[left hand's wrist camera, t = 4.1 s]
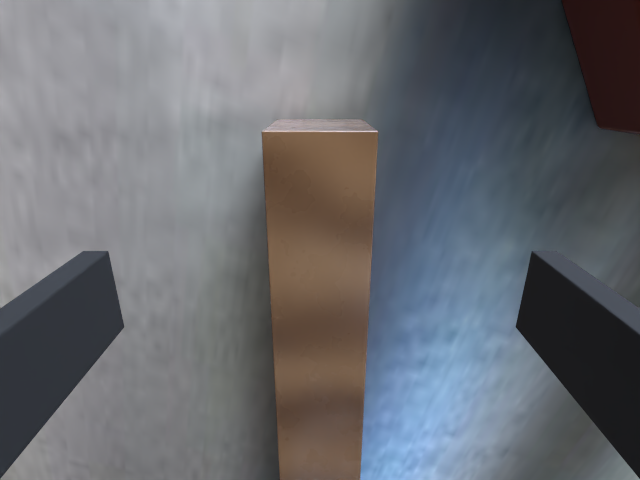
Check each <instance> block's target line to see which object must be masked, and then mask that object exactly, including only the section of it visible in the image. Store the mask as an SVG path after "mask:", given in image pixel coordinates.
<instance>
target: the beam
mask: <svg viewBox="0 0 640 480" xmlns="http://www.w3.org/2000/svg"><path fill="white" fill-rule="evenodd" d="M377 146H378V131H377V130H376V129H374V128H373V127H372V126H370V125H369V124H368V123H366V122H365V121H364V120H362V119H278V120H276V121H275V122H274V123H272V124H271V125H270V126H268V127H267V128H266V129H264V130H263V131H262V147H263V167H264V186H265V205H266V224H267V243H268V262H269V282H270V301H271V320H272V339H273V358H274V377H275V397H276V416H277V435H278V454H279V473H280V480H360V471H361V451H362V432H363V413H364V394H365V375H366V356H367V337H368V318H369V299H370V279H371V260H372V241H373V222H374V203H375V184H376V165H377Z"/></svg>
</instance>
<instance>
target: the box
mask: <svg viewBox="0 0 640 480" xmlns="http://www.w3.org/2000/svg"><path fill="white" fill-rule="evenodd" d="M562 3H563V7H564V10H565V14H566V17H567V21H568V24H569V28H570V31H571V35H572V38H573V42H574V45H575V49H576V52H577V56H578V59H579V63H580V66H581V70H582V73H583V77H584V80H585V84H586V87H587V91H588V94H589V98H590V101H591V105H592V108H593V112H594V115H595V119H596V122H597V126H598V127H599V128H601V129H606V130H613V131H619V132H626V133H633V134H639V135H640V0H562Z"/></svg>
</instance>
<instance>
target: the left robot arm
mask: <svg viewBox="0 0 640 480" xmlns="http://www.w3.org/2000/svg"><path fill="white" fill-rule="evenodd" d="M123 328H124V323H123V319H122V314H121V309H120V305H119V300H118V295H117V290H116V286H115V281H114V276H113V272H112V267H111V262H110V257H109V253H108V251H83V252H81V253H80V254H79V255H77V256H76V257H74V258H73V259H71V260H70V261H68V262H67V263H66V264H64V265H63V266H61V267H60V268H58V269H57V270H55V271H54V272H53V273H51V274H50V275H48V276H47V277H45V278H44V279H42V280H41V281H40V282H38V283H37V284H35V285H34V286H32V287H31V288H29V289H28V290H27V291H25V292H24V293H22V294H21V295H19V296H18V297H16V298H15V299H14V300H12V301H11V302H9V303H8V304H6V305H5V306H3V307H2V308H1V309H0V478H1V477H2V476H3V475H4V473H5V472H6V471H7V470H8V469H9V467H10V466H11V465H12V464H13V462H14V461H15V460H16V459H17V458H18V456H19V455H20V454H21V453H22V451H23V450H24V449H25V448H26V447H27V445H28V444H29V443H30V442H31V440H32V439H33V438H34V437H35V436H36V434H37V433H38V432H39V431H40V429H41V428H42V427H43V426H44V425H45V423H46V422H47V421H48V420H49V418H50V417H51V416H52V415H53V414H54V412H55V411H56V410H57V409H58V407H59V406H60V405H61V404H62V403H63V401H64V400H65V399H66V398H67V396H68V395H69V394H70V393H71V391H72V390H73V389H74V388H75V387H76V385H77V384H78V383H79V382H80V380H81V379H82V378H83V377H84V376H85V374H86V373H87V372H88V371H89V369H90V368H91V367H92V366H93V365H94V363H95V362H96V361H97V360H98V358H99V357H100V356H101V355H102V354H103V352H104V351H105V350H106V349H107V347H108V346H109V345H110V344H111V343H112V341H113V340H114V339H115V338H116V336H117V335H118V334H119V333H120V332H121V330H122V329H123ZM516 328H517V329H518V330H519V332H520V333H521V334H522V335H523V336H524V338H525V339H526V340H527V341H528V343H529V344H530V345H531V346H532V347H533V349H534V350H535V351H536V352H537V354H538V355H539V356H540V357H541V358H542V360H543V361H544V362H545V363H546V365H547V366H548V367H549V368H550V369H551V371H552V372H553V373H554V374H555V376H556V377H557V378H558V379H559V380H560V382H561V383H562V384H563V385H564V387H565V388H566V389H567V390H568V391H569V393H570V394H571V395H572V396H573V398H574V399H575V400H576V401H577V403H578V404H579V405H580V406H581V407H582V409H583V410H584V411H585V412H586V414H587V415H588V416H589V417H590V418H591V420H592V421H593V422H594V423H595V425H596V426H597V427H598V428H599V429H600V431H601V432H602V433H603V434H604V436H605V437H606V438H607V439H608V440H609V442H610V443H611V444H612V445H613V447H614V448H615V449H616V450H617V451H618V453H619V454H620V455H621V456H622V458H623V459H624V460H625V461H626V462H627V464H628V465H629V466H630V467H631V469H632V470H633V471H634V472H635V473H636V475H637V476H638V477H639V478H640V309H639V308H638V307H637V306H635V305H634V304H632V303H631V302H629V301H628V300H626V299H625V298H624V297H622V296H621V295H619V294H618V293H616V292H615V291H613V290H612V289H611V288H609V287H608V286H606V285H605V284H603V283H602V282H600V281H599V280H598V279H596V278H595V277H593V276H592V275H590V274H589V273H587V272H586V271H585V270H583V269H582V268H580V267H579V266H577V265H576V264H574V263H573V262H572V261H570V260H569V259H567V258H566V257H564V256H563V255H561V254H560V253H559V252H557V251H532V253H531V257H530V262H529V267H528V272H527V276H526V281H525V286H524V290H523V295H522V300H521V305H520V309H519V314H518V319H517V323H516Z"/></svg>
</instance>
